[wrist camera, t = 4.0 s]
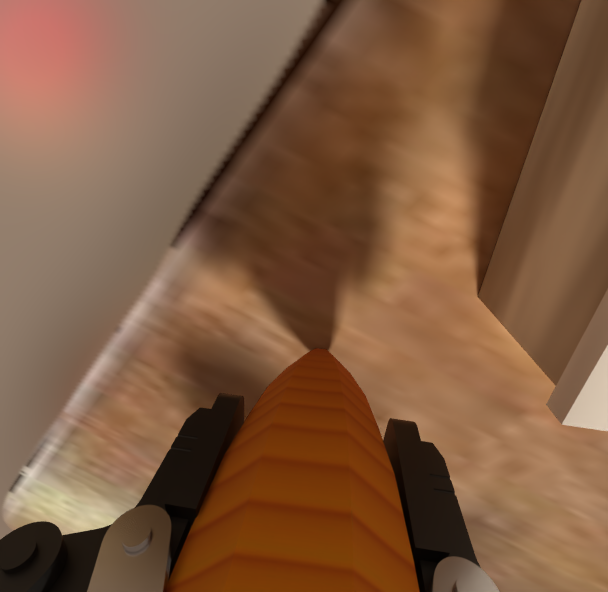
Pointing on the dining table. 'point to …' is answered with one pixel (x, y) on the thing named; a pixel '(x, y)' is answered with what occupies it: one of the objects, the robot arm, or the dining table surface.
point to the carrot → (302, 497)
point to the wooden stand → (563, 233)
